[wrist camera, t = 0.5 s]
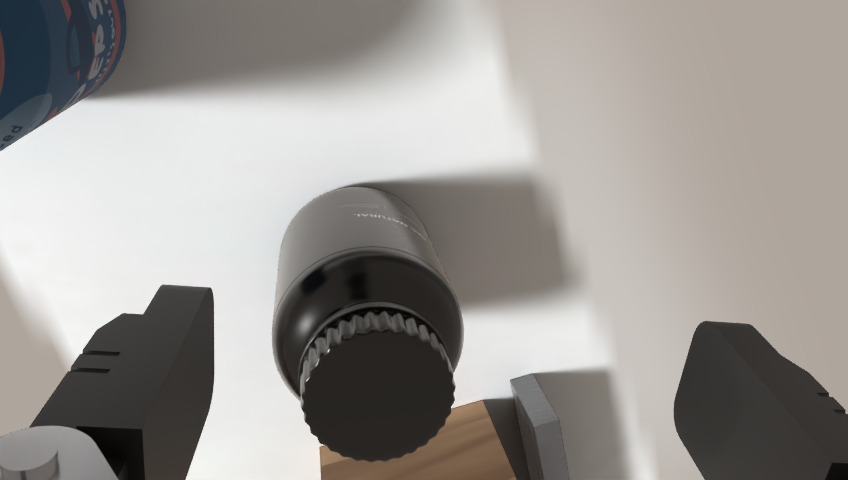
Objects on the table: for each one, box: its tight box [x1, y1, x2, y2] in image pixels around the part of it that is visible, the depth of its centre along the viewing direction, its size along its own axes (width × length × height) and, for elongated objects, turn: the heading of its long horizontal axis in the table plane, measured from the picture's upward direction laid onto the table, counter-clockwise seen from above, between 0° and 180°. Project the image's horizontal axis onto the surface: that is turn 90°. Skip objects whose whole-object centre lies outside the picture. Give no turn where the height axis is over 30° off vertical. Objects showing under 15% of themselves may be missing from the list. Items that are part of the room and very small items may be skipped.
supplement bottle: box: [272, 187, 464, 462], centre depth 27 cm, size 7×7×12 cm
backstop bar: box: [510, 374, 569, 480], centre depth 37 cm, size 10×1×4 cm, turn 12°
